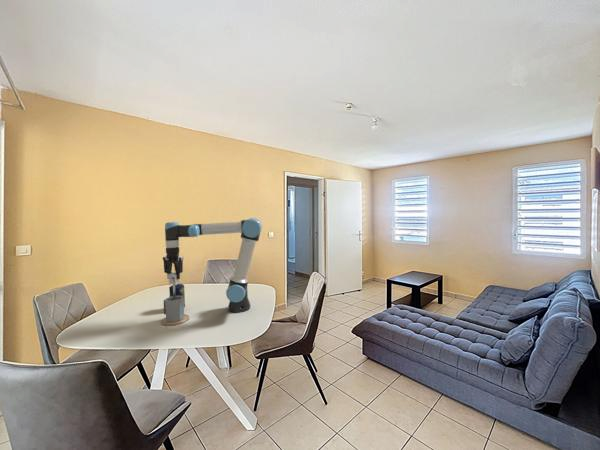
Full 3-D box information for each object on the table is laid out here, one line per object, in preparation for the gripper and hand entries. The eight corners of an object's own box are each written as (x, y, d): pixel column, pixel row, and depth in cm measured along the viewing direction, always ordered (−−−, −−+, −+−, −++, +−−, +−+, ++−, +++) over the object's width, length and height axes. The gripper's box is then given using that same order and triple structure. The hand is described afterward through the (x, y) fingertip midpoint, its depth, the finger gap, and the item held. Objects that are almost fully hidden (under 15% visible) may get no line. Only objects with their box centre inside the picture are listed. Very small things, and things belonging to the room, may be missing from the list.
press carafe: (194, 316, 163) (193, 295, 163) (177, 326, 148) (176, 303, 147) (173, 314, 167) (172, 293, 166) (154, 324, 151) (153, 302, 151)
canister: (179, 312, 171) (178, 286, 170) (166, 311, 173) (165, 285, 172) (188, 306, 180) (187, 282, 180) (176, 306, 182) (175, 281, 181)
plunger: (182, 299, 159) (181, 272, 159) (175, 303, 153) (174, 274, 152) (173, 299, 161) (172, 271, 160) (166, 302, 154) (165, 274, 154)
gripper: (188, 246, 157) (189, 283, 158) (165, 246, 161) (166, 281, 162) (180, 247, 150) (181, 286, 151) (156, 247, 154) (157, 285, 155)
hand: (173, 284), depth 156 cm, fingers closed on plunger, 4 cm apart
